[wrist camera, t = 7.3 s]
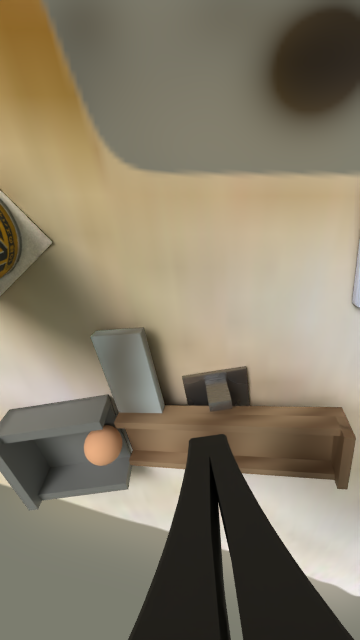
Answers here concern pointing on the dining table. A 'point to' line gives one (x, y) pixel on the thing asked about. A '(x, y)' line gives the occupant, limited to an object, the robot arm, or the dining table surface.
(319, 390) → the dining table surface
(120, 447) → the ball
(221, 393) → the fulcrum
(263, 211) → the dining table surface
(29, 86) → the dining table surface
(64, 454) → the tray
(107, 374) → the lever
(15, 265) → the condiment
